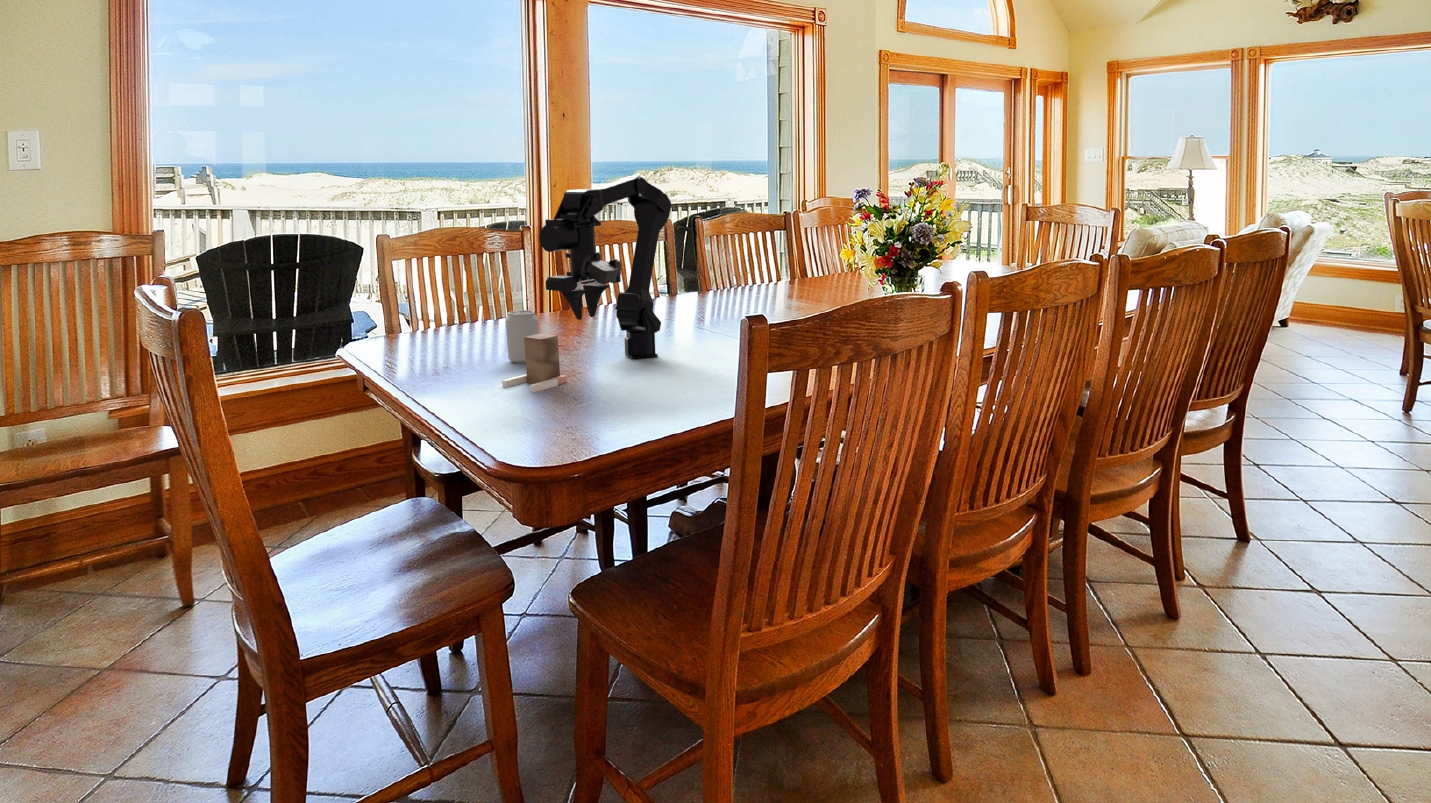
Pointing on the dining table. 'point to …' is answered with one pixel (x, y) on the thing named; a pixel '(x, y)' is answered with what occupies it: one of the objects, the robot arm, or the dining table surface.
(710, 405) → the dining table surface
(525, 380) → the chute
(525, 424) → the dining table surface
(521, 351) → the can
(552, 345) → the block
